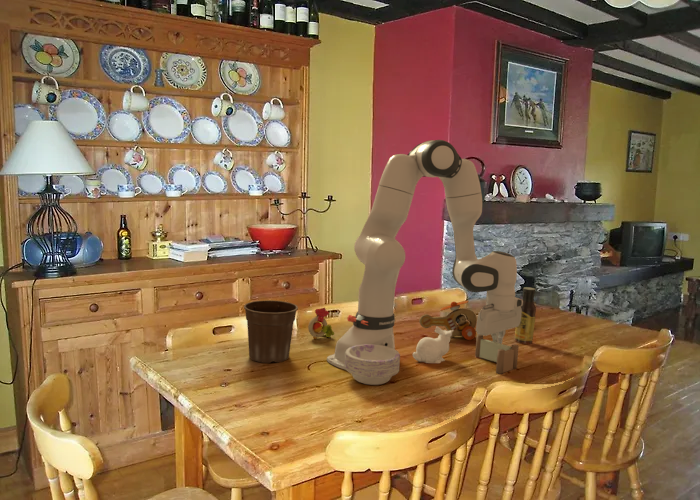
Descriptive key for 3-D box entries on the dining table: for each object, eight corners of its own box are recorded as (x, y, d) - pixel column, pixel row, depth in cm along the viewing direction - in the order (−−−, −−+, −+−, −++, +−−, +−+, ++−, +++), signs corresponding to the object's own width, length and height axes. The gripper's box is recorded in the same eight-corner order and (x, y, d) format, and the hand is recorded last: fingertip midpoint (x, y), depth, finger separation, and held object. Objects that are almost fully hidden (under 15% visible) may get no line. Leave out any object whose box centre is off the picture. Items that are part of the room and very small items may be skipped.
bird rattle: (320, 347, 193) (340, 333, 198) (310, 319, 189) (330, 306, 194) (310, 342, 198) (329, 329, 202) (300, 315, 194) (320, 302, 198)
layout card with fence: (508, 379, 163) (510, 354, 162) (457, 362, 176) (459, 339, 175) (548, 363, 178) (550, 341, 177) (498, 349, 191) (500, 328, 190)
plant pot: (303, 352, 180) (305, 303, 177) (284, 368, 164) (286, 314, 162) (256, 346, 184) (257, 298, 182) (233, 361, 168) (234, 309, 166)
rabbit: (444, 356, 181) (446, 320, 180) (456, 366, 172) (459, 328, 171) (408, 358, 178) (410, 321, 177) (419, 368, 169) (421, 329, 168)
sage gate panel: (511, 365, 173) (513, 343, 172) (507, 366, 172) (509, 344, 171) (477, 354, 182) (479, 333, 181) (473, 356, 181) (475, 334, 180)
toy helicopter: (478, 340, 201) (481, 302, 199) (421, 340, 198) (424, 302, 197) (471, 334, 209) (473, 297, 207) (416, 333, 207) (418, 297, 205)
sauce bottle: (510, 341, 202) (514, 286, 199) (524, 339, 204) (529, 285, 202) (522, 346, 196) (526, 290, 193) (536, 345, 198) (541, 289, 196)
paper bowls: (366, 364, 169) (367, 339, 168) (409, 379, 160) (410, 352, 158) (332, 378, 157) (334, 351, 156) (376, 394, 148) (378, 366, 147)
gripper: (489, 308, 171) (486, 352, 173) (526, 300, 185) (522, 341, 187) (472, 304, 176) (469, 347, 178) (509, 296, 189) (506, 336, 191)
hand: (497, 344), depth 182 cm, fingers closed
